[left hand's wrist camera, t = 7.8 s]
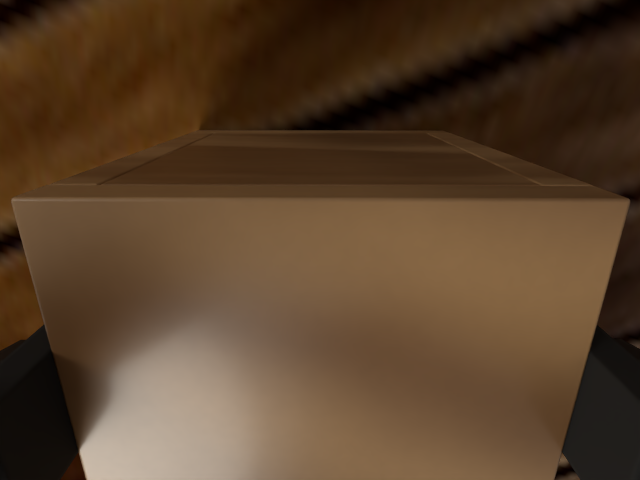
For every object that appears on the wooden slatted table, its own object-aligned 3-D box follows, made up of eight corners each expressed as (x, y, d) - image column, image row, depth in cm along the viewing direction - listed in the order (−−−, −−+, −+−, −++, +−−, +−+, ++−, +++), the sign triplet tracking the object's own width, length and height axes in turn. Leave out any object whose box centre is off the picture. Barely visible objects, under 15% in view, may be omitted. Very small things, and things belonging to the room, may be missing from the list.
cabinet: (410, 456, 25) (481, 750, 14) (229, 456, 25) (157, 748, 14) (444, 130, 18) (633, 198, 7) (196, 130, 18) (7, 197, 7)
